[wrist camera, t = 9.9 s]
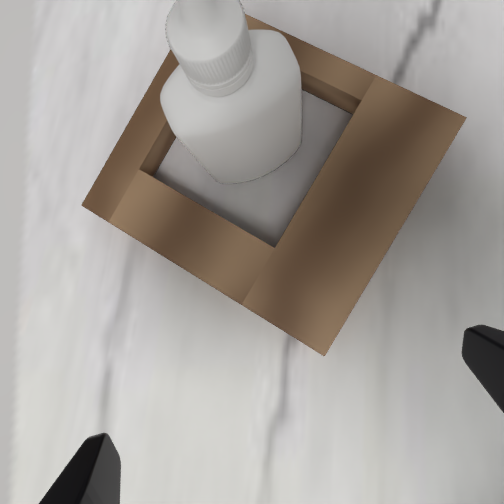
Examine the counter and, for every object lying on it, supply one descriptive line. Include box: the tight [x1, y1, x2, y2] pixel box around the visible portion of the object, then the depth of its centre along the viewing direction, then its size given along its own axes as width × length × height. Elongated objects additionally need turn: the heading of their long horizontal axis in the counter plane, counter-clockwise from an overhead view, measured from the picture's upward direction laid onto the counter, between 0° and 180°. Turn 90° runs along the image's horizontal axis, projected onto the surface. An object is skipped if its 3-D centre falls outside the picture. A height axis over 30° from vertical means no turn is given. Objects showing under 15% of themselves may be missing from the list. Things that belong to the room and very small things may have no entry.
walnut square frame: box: [82, 14, 467, 356], centre depth 19 cm, size 16×14×2 cm
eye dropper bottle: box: [160, 0, 302, 184], centre depth 14 cm, size 4×6×12 cm
